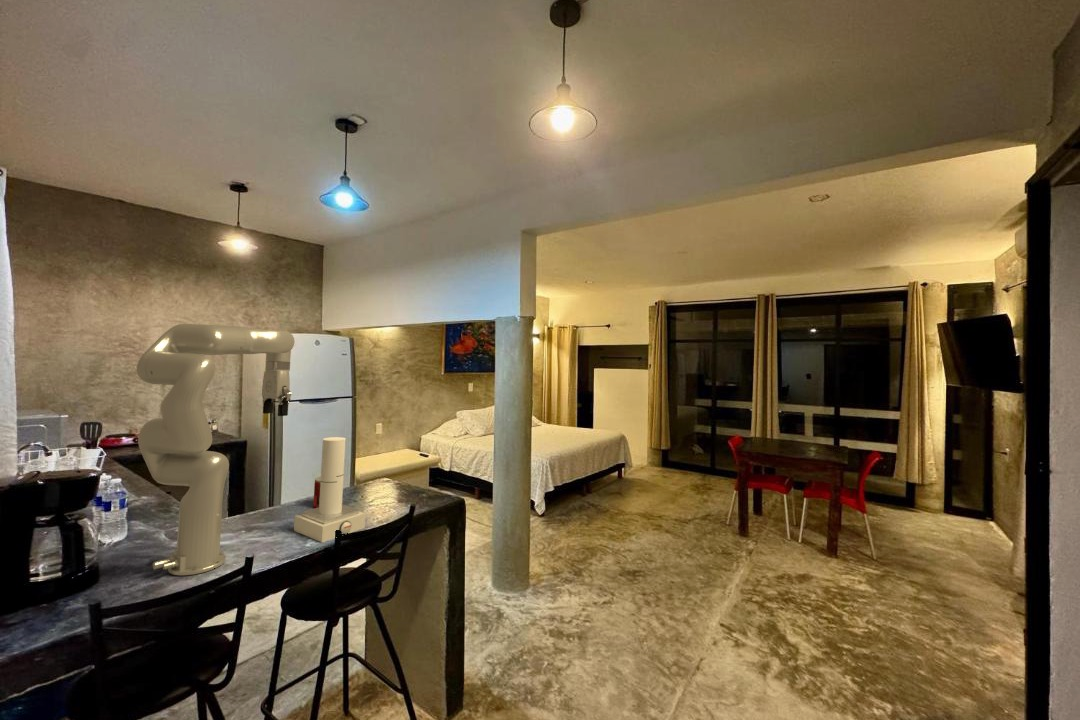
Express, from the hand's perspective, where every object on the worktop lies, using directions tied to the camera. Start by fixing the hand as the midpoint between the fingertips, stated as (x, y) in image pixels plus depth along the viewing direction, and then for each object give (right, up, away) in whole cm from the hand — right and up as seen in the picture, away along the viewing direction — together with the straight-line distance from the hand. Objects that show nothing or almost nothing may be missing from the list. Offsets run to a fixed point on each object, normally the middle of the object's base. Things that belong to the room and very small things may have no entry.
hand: (275, 414), depth 154 cm
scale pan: (+22, -34, -4) cm, 41 cm away
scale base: (+22, -39, -4) cm, 45 cm away
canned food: (+8, -39, +19) cm, 44 cm away
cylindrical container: (+22, -33, -4) cm, 40 cm away
